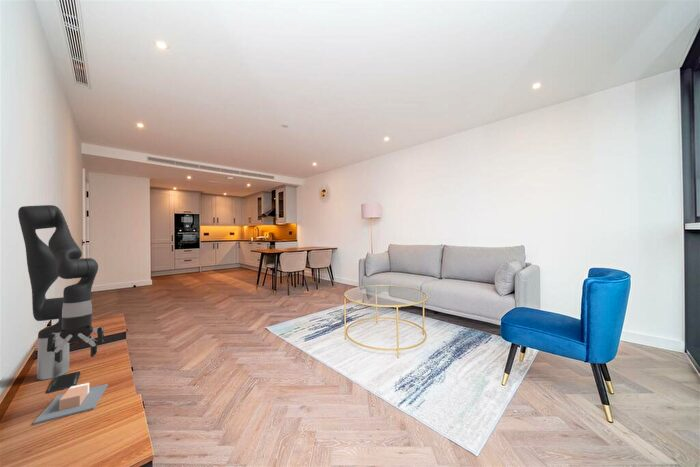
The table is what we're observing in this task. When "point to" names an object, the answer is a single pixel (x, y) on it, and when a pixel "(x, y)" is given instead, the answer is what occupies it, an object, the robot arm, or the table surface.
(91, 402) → the mat
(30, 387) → the table surface
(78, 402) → the white-tipped pink eraser
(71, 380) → the phone
